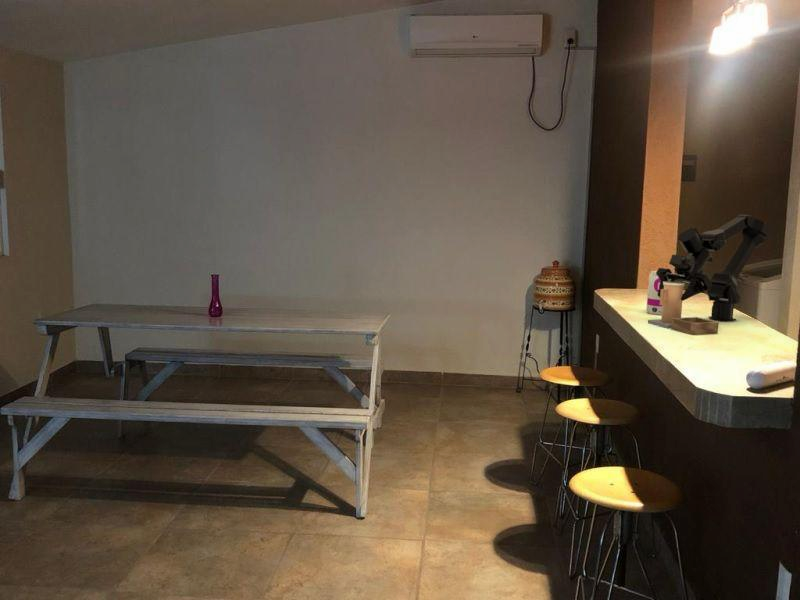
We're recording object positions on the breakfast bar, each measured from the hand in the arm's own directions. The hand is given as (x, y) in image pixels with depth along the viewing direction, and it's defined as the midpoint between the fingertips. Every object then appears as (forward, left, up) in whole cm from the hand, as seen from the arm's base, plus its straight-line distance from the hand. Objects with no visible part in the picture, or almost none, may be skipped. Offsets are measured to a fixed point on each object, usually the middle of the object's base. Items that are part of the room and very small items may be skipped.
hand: (669, 297), depth 249 cm
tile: (-1, 0, -9) cm, 9 cm away
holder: (-1, +11, -9) cm, 14 cm away
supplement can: (-13, -21, -9) cm, 27 cm away
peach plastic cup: (0, 0, -8) cm, 8 cm away
